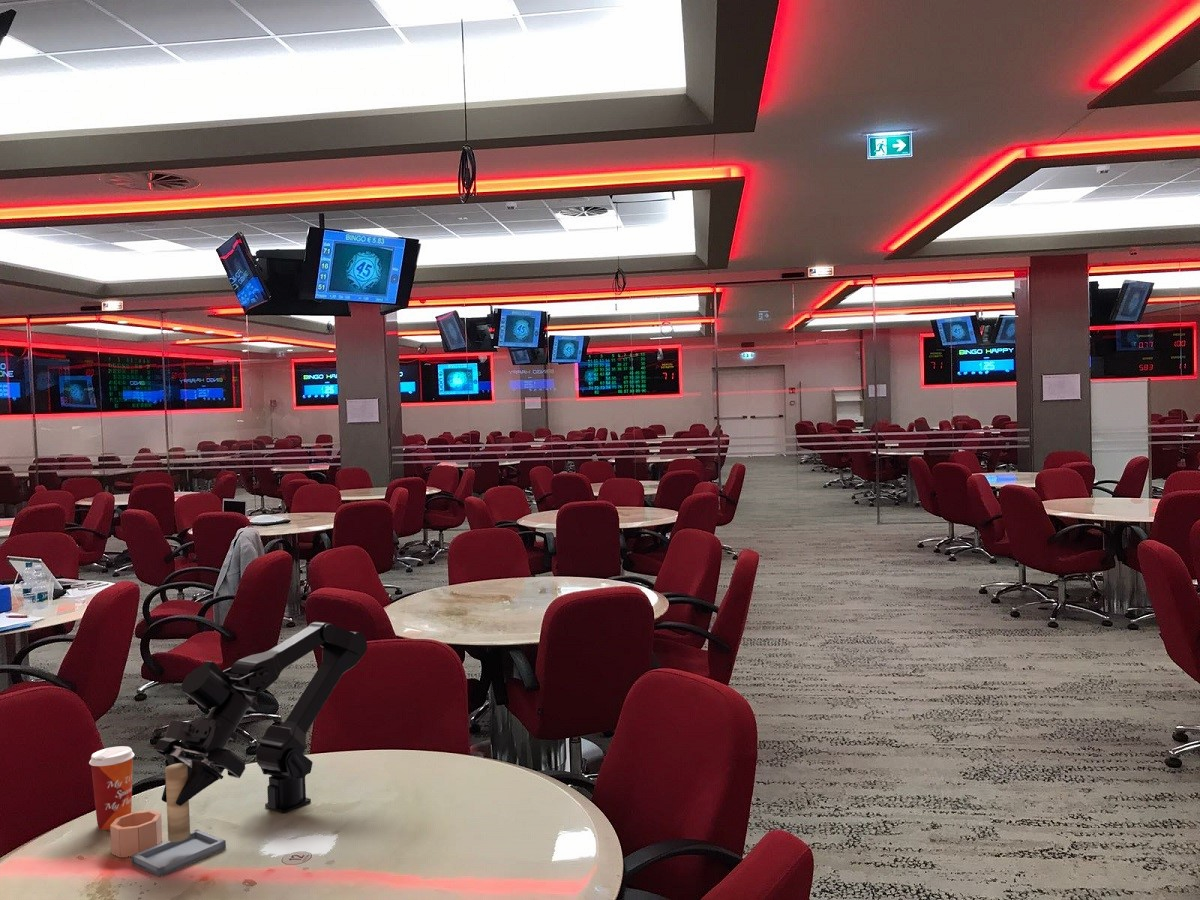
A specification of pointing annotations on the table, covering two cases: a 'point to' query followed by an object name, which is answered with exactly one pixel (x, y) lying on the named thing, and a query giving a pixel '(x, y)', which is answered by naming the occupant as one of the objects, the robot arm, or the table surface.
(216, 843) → the slate tray
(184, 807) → the oak peg
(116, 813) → the paper cup
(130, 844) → the pot
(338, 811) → the table surface
